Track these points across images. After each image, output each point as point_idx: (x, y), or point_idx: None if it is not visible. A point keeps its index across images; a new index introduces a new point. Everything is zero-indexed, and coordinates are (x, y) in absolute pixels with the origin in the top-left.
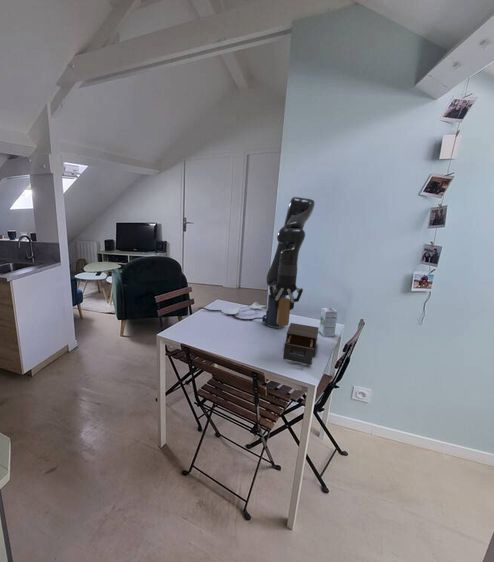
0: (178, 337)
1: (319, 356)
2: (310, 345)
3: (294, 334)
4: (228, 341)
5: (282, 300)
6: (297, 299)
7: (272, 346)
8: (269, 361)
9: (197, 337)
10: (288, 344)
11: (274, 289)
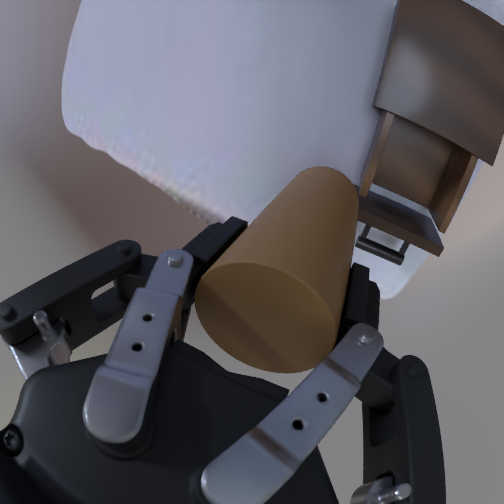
0: (78, 121)
1: None
2: (446, 218)
3: (409, 120)
4: (175, 86)
5: (231, 351)
6: (375, 417)
7: (326, 76)
8: None
9: (105, 99)
10: (358, 220)
11: (69, 355)
